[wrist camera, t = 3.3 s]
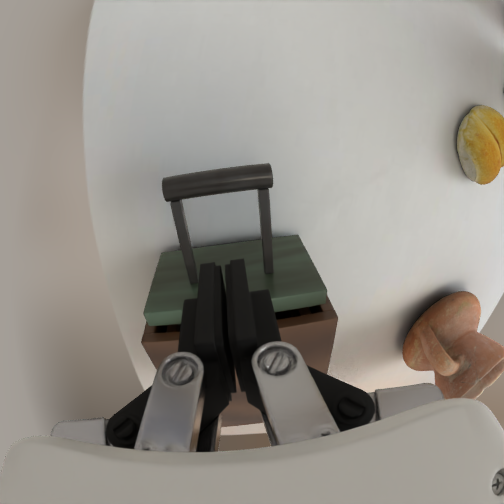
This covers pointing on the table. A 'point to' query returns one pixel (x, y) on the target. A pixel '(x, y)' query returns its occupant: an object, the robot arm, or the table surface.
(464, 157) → the bread roll
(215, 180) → the drawer
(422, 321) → the ceramic jug
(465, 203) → the table surface
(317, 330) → the cabinet
